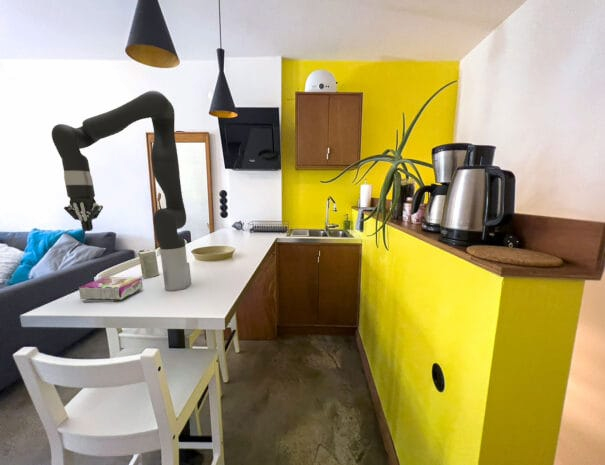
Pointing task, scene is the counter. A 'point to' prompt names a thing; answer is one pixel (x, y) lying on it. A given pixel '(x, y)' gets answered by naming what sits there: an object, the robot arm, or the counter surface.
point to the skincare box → (148, 264)
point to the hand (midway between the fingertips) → (87, 230)
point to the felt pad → (98, 300)
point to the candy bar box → (111, 288)
